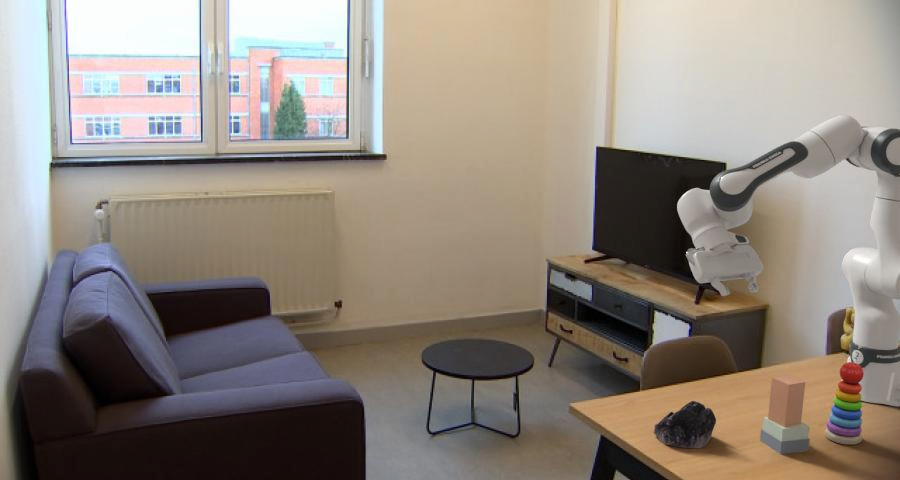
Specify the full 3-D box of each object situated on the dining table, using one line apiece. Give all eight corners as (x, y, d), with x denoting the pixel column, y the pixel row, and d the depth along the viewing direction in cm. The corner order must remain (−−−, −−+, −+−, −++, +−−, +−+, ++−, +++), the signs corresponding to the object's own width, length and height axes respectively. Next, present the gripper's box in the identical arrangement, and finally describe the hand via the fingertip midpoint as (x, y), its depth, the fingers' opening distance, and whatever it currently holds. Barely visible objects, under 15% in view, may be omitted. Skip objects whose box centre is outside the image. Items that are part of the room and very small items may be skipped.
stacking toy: (859, 449, 200) (868, 371, 196) (821, 441, 204) (830, 364, 200) (863, 437, 206) (872, 361, 203) (827, 429, 210) (835, 355, 207)
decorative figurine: (874, 352, 271) (879, 305, 268) (873, 360, 263) (878, 311, 261) (840, 347, 275) (845, 301, 272) (838, 354, 268) (843, 307, 265)
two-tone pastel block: (787, 438, 206) (789, 414, 204) (808, 451, 199) (810, 426, 197) (759, 441, 204) (762, 417, 202) (780, 454, 196) (782, 429, 195)
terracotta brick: (784, 415, 203) (788, 374, 201) (800, 423, 199) (805, 381, 197) (767, 418, 201) (772, 377, 199) (784, 426, 197) (788, 384, 195)
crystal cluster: (641, 436, 206) (643, 399, 203) (681, 420, 213) (684, 383, 210) (684, 462, 196) (687, 422, 193) (725, 444, 203) (728, 405, 200)
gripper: (690, 242, 213) (716, 290, 206) (752, 236, 222) (778, 282, 215) (676, 256, 217) (701, 303, 211) (737, 250, 227) (763, 295, 220)
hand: (741, 292), depth 213 cm, fingers open, 8 cm apart
